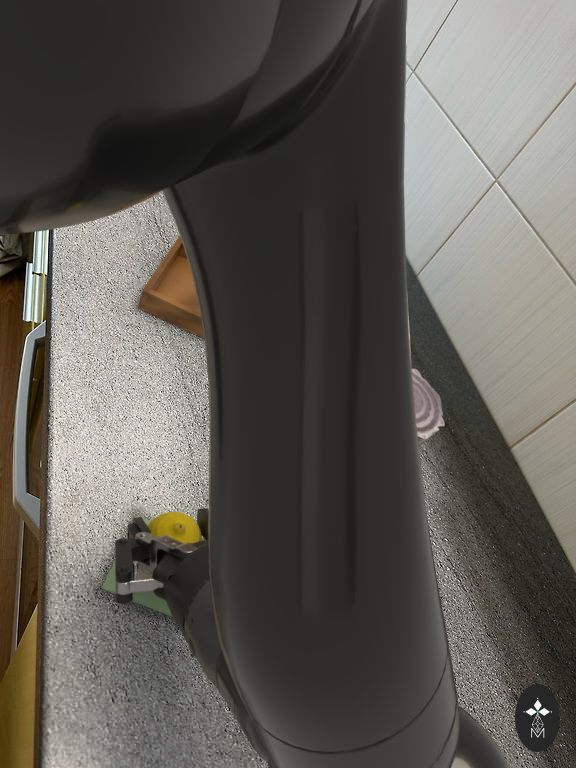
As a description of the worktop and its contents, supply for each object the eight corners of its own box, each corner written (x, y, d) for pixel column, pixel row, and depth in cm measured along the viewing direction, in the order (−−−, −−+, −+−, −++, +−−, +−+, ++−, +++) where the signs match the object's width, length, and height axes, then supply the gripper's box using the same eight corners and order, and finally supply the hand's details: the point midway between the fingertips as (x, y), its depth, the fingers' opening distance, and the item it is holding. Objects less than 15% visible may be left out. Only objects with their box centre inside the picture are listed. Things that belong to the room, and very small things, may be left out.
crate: (137, 308, 77) (142, 289, 74) (175, 252, 86) (180, 234, 83) (230, 351, 78) (238, 335, 76) (257, 292, 87) (264, 275, 85)
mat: (101, 589, 55) (101, 587, 54) (135, 516, 60) (136, 514, 60) (178, 619, 56) (179, 618, 55) (205, 546, 61) (207, 544, 61)
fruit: (192, 586, 55) (214, 556, 49) (133, 588, 53) (149, 557, 47) (189, 531, 58) (210, 497, 52) (133, 531, 56) (149, 495, 50)
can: (321, 400, 79) (361, 346, 71) (393, 417, 83) (439, 368, 74) (325, 473, 72) (370, 423, 64) (403, 488, 76) (456, 443, 67)
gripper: (334, 547, 41) (241, 475, 56) (133, 586, 35) (87, 493, 49) (328, 641, 43) (238, 547, 57) (133, 697, 36) (88, 574, 51)
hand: (169, 522), depth 53 cm, fingers closed on fruit, 5 cm apart
